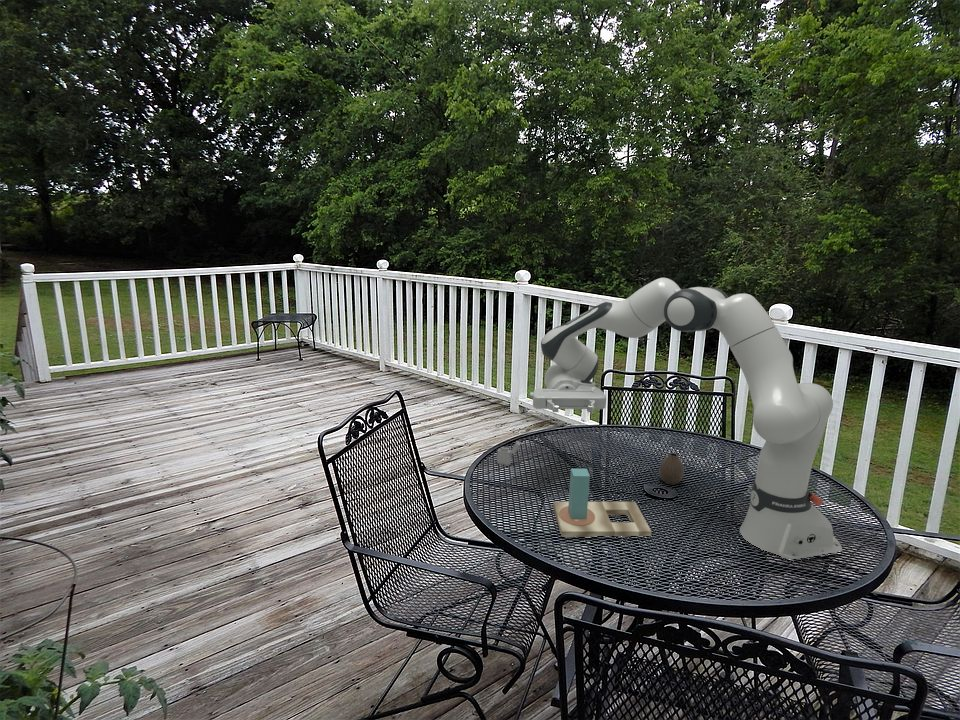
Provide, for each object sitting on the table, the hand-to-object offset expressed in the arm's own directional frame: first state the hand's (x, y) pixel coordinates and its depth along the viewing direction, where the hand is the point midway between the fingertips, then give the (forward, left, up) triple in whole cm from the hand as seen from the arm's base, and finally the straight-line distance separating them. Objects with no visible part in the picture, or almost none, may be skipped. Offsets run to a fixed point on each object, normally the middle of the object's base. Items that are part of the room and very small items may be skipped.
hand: (573, 409), depth 152 cm
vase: (-32, -9, -26) cm, 42 cm away
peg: (0, +13, -24) cm, 27 cm away
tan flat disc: (0, +13, -24) cm, 27 cm away
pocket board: (-6, +13, -26) cm, 30 cm away
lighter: (+15, -20, -26) cm, 36 cm away
